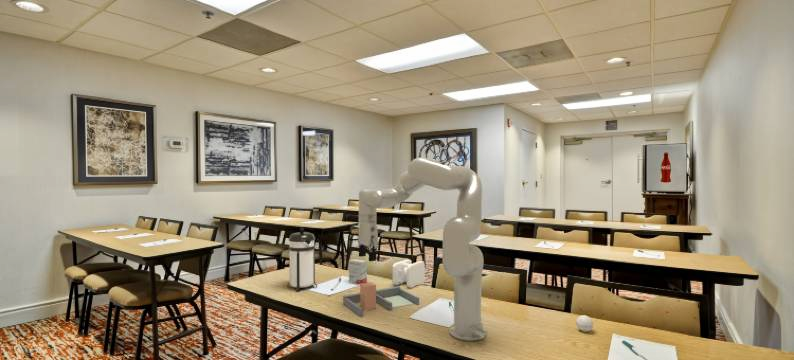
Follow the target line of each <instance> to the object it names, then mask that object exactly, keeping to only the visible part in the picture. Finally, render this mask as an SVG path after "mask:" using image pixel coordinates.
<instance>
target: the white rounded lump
mask: <svg viewBox="0 0 794 360" xmlns="http://www.w3.org/2000/svg"><path fill="white" fill-rule="evenodd" d="M575 324H576V326H577V328H578V330H580V331H581V332H590V331H592V329H593V328H594V321H593V320H592V318H591V317H590V316H588V315H585V314H583V315H582V314H581V315H579V316H578V317H577V318H576V321H575Z"/></svg>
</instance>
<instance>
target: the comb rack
mask: <svg viewBox="0 0 794 360" xmlns="http://www.w3.org/2000/svg"><path fill="white" fill-rule="evenodd" d="M357 303H359V304H360V292H358V293H351V294H345V295H343V296H342V304H343V305H344V306H346V307H347V308H348V309H349V310H351V311H352V312H354V313H355V314H356V315H358V316H359V317H360V318H362V317H363V316H364V314H363V313H364V309H362V308H361V307H360V305H358V304H357ZM376 304H379V305H380V306H382V307H384V308H385V309H387V310H388V311H391V312H392V311H393V309H396V308H400V307H401V308H402V307H405V306H410V305H414V304H415V305H416V306H419V305H420V297H418V296H417V295H415V294H413V293H410V292H408V291H407V290H405V289H404V288H403V289H402V288H401V286H400V285H395V286H392V287H391V286H390V287H385V288H380V289H376Z"/></svg>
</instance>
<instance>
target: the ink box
mask: <svg viewBox="0 0 794 360" xmlns="http://www.w3.org/2000/svg"><path fill="white" fill-rule="evenodd" d="M367 266H368V263H367V260H365V259H364V260H363V259H356V258H353V259H349V260H348V283H349V282H352V283H351V284H354V283H357V284H356V285H359V284H362V283H368V274H367V273H368V270H367Z"/></svg>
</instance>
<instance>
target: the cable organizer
mask: <svg viewBox="0 0 794 360" xmlns="http://www.w3.org/2000/svg"><path fill="white" fill-rule="evenodd" d="M425 264H426V263H425V261H423V260H419V261H416V262H413V263H412V260H411V259H408V258H407V259H403V260H401V261H397V262H395V263H393V265H392V267H391V268H392V276H391V277H392V285H395V286H400V285H404V284H403V283H406V286H407V287H408V288H410V289H413V288H415V287H416V286H419V285H422V284H423V283H424V282H425V279H426V277H425V274H426V273H425V271H426V270H425Z"/></svg>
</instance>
